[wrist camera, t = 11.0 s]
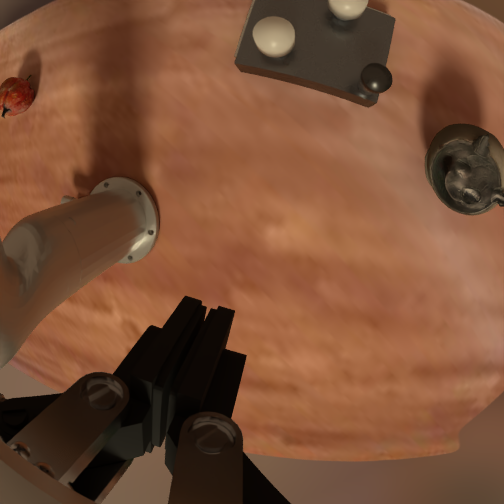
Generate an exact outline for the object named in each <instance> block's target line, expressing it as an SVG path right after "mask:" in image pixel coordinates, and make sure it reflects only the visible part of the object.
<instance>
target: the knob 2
mask: <svg viewBox="0 0 504 504" xmlns="http://www.w3.org/2000/svg"><path fill="white" fill-rule="evenodd" d="M327 4H328V8H329V9H330V11H331V12H332V13H333V14H334V15H335V16H336V17H337V18H338V19H340V20H343V21H348V20H353V19H357V18H359V17H360V16H361V15H362V14H363V12H364V10H365V8H366V6H367V4H368V0H328V1H327Z"/></svg>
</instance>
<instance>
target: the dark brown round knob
mask: <svg viewBox="0 0 504 504" xmlns="http://www.w3.org/2000/svg"><path fill="white" fill-rule="evenodd" d="M360 78H361V80H360V81H359V83H358V87H359V89H360V91H361V92H362V93H364V94H366V95H371V94H373V93H383V92H385V91H386V90H388V89H389V88H390V87H391V85H392V75H391V73H390V71H389V70H388V69H387V68H386V67H385V66H384V65H382V64H379V63H370V64H368V65H367V66H366V67H365V68H364V69H363V70H362V72H361V75H360Z"/></svg>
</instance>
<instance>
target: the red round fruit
mask: <svg viewBox="0 0 504 504" xmlns="http://www.w3.org/2000/svg"><path fill="white" fill-rule="evenodd" d="M30 76H31V75H30ZM30 76H29V77H28V79H29V78H30ZM28 79H27V80H28ZM27 80H25V81H24V80H23V79H21V78H16V77H11V78H8V79H6V80H5V81H4V82H3V83H2V85H1V86H0V110H2V111H3V113H2V117H3V118H5V117H4V115H5V114H6V115H8V116H15V115H17V114H20V113H23V112H24V111H26V110H27V109H28V108H29V107H30V106H31V104H32V102H33V99H34V90H33V89H31V88H30V83H29V82H28V81H27Z"/></svg>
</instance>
